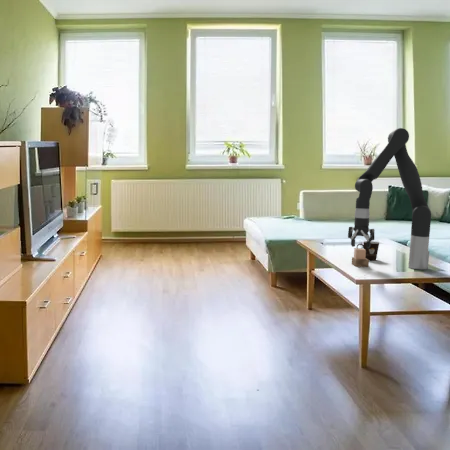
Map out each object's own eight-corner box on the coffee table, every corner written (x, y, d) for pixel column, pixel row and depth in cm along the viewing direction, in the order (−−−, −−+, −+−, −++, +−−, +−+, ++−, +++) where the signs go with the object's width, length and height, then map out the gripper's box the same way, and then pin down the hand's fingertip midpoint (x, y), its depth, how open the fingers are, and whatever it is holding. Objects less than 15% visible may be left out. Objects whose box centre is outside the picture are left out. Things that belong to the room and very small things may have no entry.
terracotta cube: (363, 257, 298) (363, 248, 297) (365, 259, 293) (365, 250, 292) (353, 257, 298) (354, 248, 297) (355, 259, 293) (356, 249, 292)
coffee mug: (379, 259, 317) (381, 242, 316) (375, 261, 310) (376, 243, 309) (359, 257, 323) (360, 240, 322) (355, 259, 316) (356, 241, 314)
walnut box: (364, 265, 299) (364, 257, 299) (368, 267, 292) (368, 260, 292) (351, 264, 299) (352, 257, 298) (355, 267, 292) (355, 259, 291)
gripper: (377, 217, 291) (376, 248, 292) (353, 215, 300) (352, 245, 302) (371, 218, 285) (369, 249, 287) (346, 216, 295) (344, 246, 296)
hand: (360, 247), depth 294 cm, fingers open, 8 cm apart
